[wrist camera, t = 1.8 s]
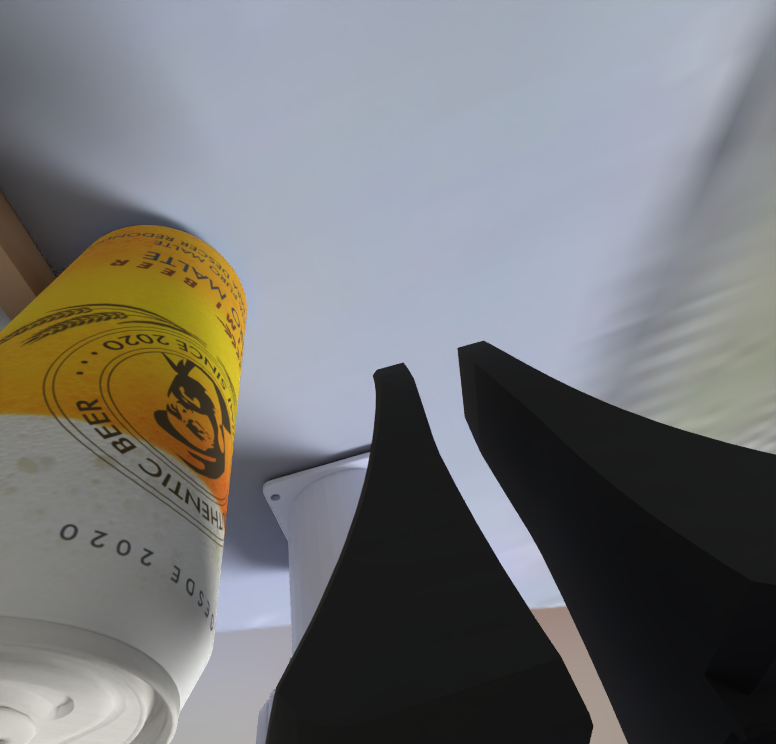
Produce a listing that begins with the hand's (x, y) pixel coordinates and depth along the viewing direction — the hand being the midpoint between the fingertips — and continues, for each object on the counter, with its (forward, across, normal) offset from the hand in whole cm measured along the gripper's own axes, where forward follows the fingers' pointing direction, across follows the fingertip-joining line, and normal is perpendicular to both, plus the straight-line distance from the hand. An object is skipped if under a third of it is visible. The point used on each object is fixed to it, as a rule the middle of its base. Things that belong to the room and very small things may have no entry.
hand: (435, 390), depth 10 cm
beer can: (+11, +8, 0) cm, 13 cm away
